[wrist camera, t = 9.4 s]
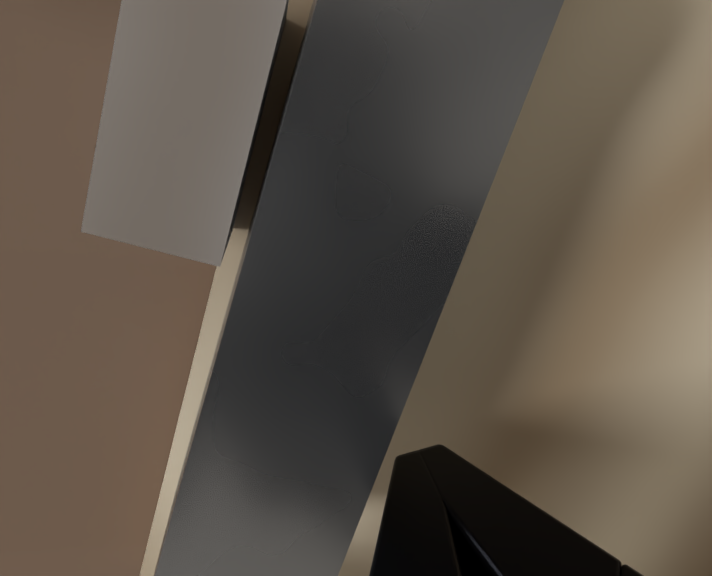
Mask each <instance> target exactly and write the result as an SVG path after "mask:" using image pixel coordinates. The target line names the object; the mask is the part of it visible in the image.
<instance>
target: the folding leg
mask: <svg viewBox="0 0 712 576" xmlns="http://www.w3.org/2000/svg"><path fill="white" fill-rule="evenodd" d="M563 2H564V0H313V3H312V7H311V10H310V14H309V17H308V21H307V24H306V28H305V31H304V35H303V39H302V42H301V46H300V49H299V53H298V56H297V60H296V64H295V67H294V71H293V74H292V78H291V81H290V85H289V88H288V92H287V96H286V99H285V103H284V106H283V110H282V113H281V117H280V120H279V124H278V128H277V131H276V135H275V138H274V142H273V145H272V149H271V153H270V156H269V160H268V163H267V167H266V170H265V174H264V177H263V181H262V185H261V188H260V192H259V195H258V199H257V202H256V206H255V210H254V213H253V217H252V220H251V224H250V227H249V231H248V234H247V238H246V242H245V245H244V249H243V252H242V256H241V259H240V263H239V266H238V270H237V274H236V277H235V281H234V284H233V288H232V291H231V295H230V299H229V302H228V306H227V309H226V313H225V316H224V320H223V323H222V327H221V331H220V334H219V338H218V341H217V345H216V348H215V352H214V356H213V359H212V363H211V366H210V370H209V373H208V377H207V380H206V384H205V388H204V391H203V395H202V398H201V402H200V405H199V409H198V413H197V416H196V420H195V423H194V427H193V430H192V434H191V437H190V441H189V445H188V448H187V452H186V455H185V459H184V462H183V466H182V469H181V473H180V477H179V480H178V484H177V487H176V491H175V495H174V499H173V503H172V506H171V510H170V514H169V518H168V522H167V526H166V530H165V534H164V537H163V541H162V545H161V549H160V553H159V557H158V561H157V564H156V568H155V572H154V576H338V574H339V572H340V569H341V566H342V564H343V561H344V559H345V556H346V554H347V551H348V549H349V546H350V544H351V541H352V539H353V536H354V533H355V531H356V528H357V526H358V523H359V521H360V518H361V516H362V513H363V511H364V508H365V505H366V503H367V500H368V498H369V495H370V493H371V490H372V488H373V485H374V483H375V480H376V478H377V475H378V472H379V470H380V467H381V465H382V462H383V460H384V457H385V455H386V452H387V450H388V447H389V444H390V442H391V439H392V437H393V434H394V432H395V429H396V427H397V424H398V422H399V419H400V417H401V414H402V411H403V409H404V406H405V404H406V401H407V399H408V396H409V394H410V391H411V389H412V386H413V383H414V381H415V378H416V376H417V373H418V371H419V368H420V366H421V363H422V361H423V358H424V356H425V353H426V350H427V348H428V345H429V343H430V340H431V338H432V335H433V333H434V330H435V328H436V325H437V322H438V320H439V317H440V315H441V312H442V310H443V307H444V305H445V302H446V300H447V297H448V295H449V292H450V289H451V287H452V284H453V282H454V279H455V277H456V274H457V272H458V269H459V267H460V264H461V261H462V259H463V256H464V254H465V251H466V249H467V246H468V244H469V241H470V239H471V236H472V234H473V231H474V228H475V226H476V223H477V221H478V218H479V216H480V213H481V211H482V208H483V206H484V203H485V200H486V198H487V195H488V193H489V190H490V188H491V185H492V183H493V180H494V178H495V175H496V173H497V170H498V167H499V165H500V162H501V160H502V157H503V155H504V152H505V150H506V147H507V145H508V142H509V139H510V137H511V134H512V132H513V129H514V127H515V124H516V122H517V119H518V117H519V114H520V112H521V109H522V106H523V104H524V101H525V99H526V96H527V94H528V91H529V89H530V86H531V84H532V81H533V78H534V76H535V73H536V71H537V68H538V66H539V63H540V61H541V58H542V56H543V53H544V51H545V48H546V45H547V43H548V40H549V38H550V35H551V33H552V30H553V28H554V25H555V23H556V20H557V17H558V15H559V12H560V10H561V7H562V5H563Z"/></svg>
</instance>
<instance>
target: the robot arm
mask: <svg viewBox="0 0 712 576" xmlns="http://www.w3.org/2000/svg"><path fill="white" fill-rule="evenodd" d="M369 576H644V575H642V574H641V573H639V572H638V571H636V570H634V569H633V568H631V567H630V566H628V565H626V564H624V565H622V563H621V561H620V560H619V559H617V558H616V557H614V556H613V555H611V554H609V553H608V552H606V551H605V550H603V549H602V548H600V547H599V546H597V545H596V544H594V543H593V542H591V541H590V540H588V539H586V538H585V537H583V536H582V535H580V534H579V533H577V532H576V531H574V530H573V529H571V528H570V527H568V526H567V525H565V524H563V523H562V522H560V521H559V520H557V519H556V518H554V517H553V516H551V515H550V514H548V513H547V512H545V511H544V510H542V509H540V508H539V507H537V506H536V505H534V504H533V503H531V502H530V501H528V500H527V499H525V498H524V497H522V496H521V495H519V494H517V493H516V492H514V491H513V490H511V489H510V488H508V487H507V486H505V485H504V484H502V483H501V482H499V481H498V480H496V479H494V478H493V477H491V476H490V475H488V474H487V473H485V472H484V471H482V470H481V469H479V468H478V467H476V466H475V465H473V464H471V463H470V462H468V461H467V460H465V459H464V458H462V457H461V456H459V455H458V454H456V453H455V452H453V451H452V450H450V449H448V448H447V447H445V446H444V445H441V444H437V445H433V446H430V447H426V448H423V449H419V450H416V451H412V452H408V453H405V454H401V455H398V456H397V457H396V458H395V460H394V465H393V469H392V474H391V478H390V483H389V487H388V492H387V497H386V501H385V506H384V510H383V515H382V519H381V524H380V528H379V533H378V538H377V542H376V547H375V551H374V556H373V560H372V565H371V569H370V574H369Z"/></svg>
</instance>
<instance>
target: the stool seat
mask: <svg viewBox="0 0 712 576" xmlns="http://www.w3.org/2000/svg"><path fill="white" fill-rule="evenodd" d="M312 3H313V0H122V1H121V7H120V13H119V18H118V24H117V30H116V35H115V41H114V47H113V52H112V58H111V64H110V69H109V75H108V81H107V86H106V92H105V98H104V103H103V109H102V115H101V120H100V126H99V132H98V137H97V143H96V149H95V154H94V160H93V166H92V171H91V177H90V183H89V188H88V194H87V200H86V205H85V211H84V217H83V222H82V228H81V232H84V233H88V234H92V235H96V236H100V237H104V238H108V239H112V240H116V241H120V242H124V243H128V244H131V245H135V246H139V247H143V248H147V249H151V250H155V251H159V252H163V253H167V254H171V255H175V256H179V257H183V258H187V259H191V260H195V261H199V262H203V263H207V264H211V265H215V266H217V267H216V271H215V275H214V279H213V283H212V287H211V291H210V295H209V299H208V303H207V307H206V311H205V315H204V319H203V323H202V327H201V331H200V335H199V339H198V343H197V347H196V351H195V355H194V359H193V363H192V367H191V371H190V375H189V379H188V383H187V387H186V391H185V395H184V399H183V403H182V407H181V411H180V415H179V419H178V423H177V427H176V431H175V435H174V439H173V444H172V448H171V452H170V456H169V460H168V464H167V468H166V472H165V476H164V480H163V484H162V488H161V492H160V496H159V500H158V504H157V508H156V512H155V516H154V520H153V524H152V528H151V532H150V536H149V540H148V544H147V548H146V552H145V556H144V560H143V564H142V568H141V572H140V576H154V572H155V568H156V564H157V561H158V557H159V553H160V549H161V545H162V541H163V537H164V534H165V530H166V526H167V522H168V518H169V514H170V510H171V506H172V503H173V499H174V495H175V491H176V487H177V484H178V480H179V477H180V473H181V469H182V466H183V462H184V459H185V455H186V452H187V448H188V445H189V441H190V437H191V434H192V430H193V427H194V423H195V420H196V416H197V413H198V409H199V405H200V402H201V398H202V395H203V391H204V388H205V384H206V380H207V377H208V373H209V370H210V366H211V363H212V359H213V356H214V352H215V348H216V345H217V341H218V338H219V334H220V331H221V327H222V323H223V320H224V316H225V313H226V309H227V306H228V302H229V299H230V295H231V291H232V288H233V284H234V281H235V277H236V274H237V270H238V266H239V263H240V259H241V256H242V252H243V249H244V245H245V242H246V238H247V234H248V231H249V227H250V224H251V220H252V217H253V213H254V210H255V206H256V202H257V199H258V195H259V192H260V188H261V185H262V181H263V177H264V174H265V170H266V167H267V163H268V160H269V156H270V153H271V149H272V145H273V142H274V138H275V135H276V131H277V128H278V124H279V120H280V117H281V113H282V110H283V106H284V103H285V99H286V96H287V92H288V88H289V85H290V81H291V78H292V74H293V71H294V67H295V64H296V60H297V56H298V53H299V49H300V46H301V42H302V39H303V35H304V31H305V28H306V24H307V21H308V17H309V14H310V10H311V7H312ZM437 444H441V445H444V446H445V447H447V448H448V449H450V450H452V451H453V452H455V453H456V454H458V455H459V456H461V457H462V458H464V459H465V460H467V461H468V462H470V463H471V464H473V465H475V466H476V467H478V468H479V469H481V470H482V471H484V472H485V473H487V474H488V475H490V476H491V477H493V478H494V479H496V480H498V481H499V482H501V483H502V484H504V485H505V486H507V487H508V488H510V489H511V490H513V491H514V492H516V493H517V494H519V495H521V496H522V497H524V498H525V499H527V500H528V501H530V502H531V503H533V504H534V505H536V506H537V507H539V508H540V509H542V510H544V511H545V512H547V513H548V514H550V515H551V516H553V517H554V518H556V519H557V520H559V521H560V522H562V523H563V524H565V525H567V526H568V527H570V528H571V529H573V530H574V531H576V532H577V533H579V534H580V535H582V536H583V537H585V538H586V539H588V540H590V541H591V542H593V543H594V544H596V545H597V546H599V547H600V548H602V549H603V550H605V551H606V552H608V553H609V554H611V555H613V556H614V557H616V558H617V559H619V560H620V561H621V563H622V565H624V564H626V565H628V566H630V567H631V568H633V569H634V570H636V571H638V572H639V573H641V574H642V575H644V576H712V0H564V2H563V5H562V7H561V10H560V12H559V15H558V17H557V20H556V23H555V25H554V28H553V30H552V33H551V35H550V38H549V40H548V43H547V45H546V48H545V51H544V53H543V56H542V58H541V61H540V63H539V66H538V68H537V71H536V73H535V76H534V78H533V81H532V84H531V86H530V89H529V91H528V94H527V96H526V99H525V101H524V104H523V106H522V109H521V112H520V114H519V117H518V119H517V122H516V124H515V127H514V129H513V132H512V134H511V137H510V139H509V142H508V145H507V147H506V150H505V152H504V155H503V157H502V160H501V162H500V165H499V167H498V170H497V173H496V175H495V178H494V180H493V183H492V185H491V188H490V190H489V193H488V195H487V198H486V200H485V203H484V206H483V208H482V211H481V213H480V216H479V218H478V221H477V223H476V226H475V228H474V231H473V234H472V236H471V239H470V241H469V244H468V246H467V249H466V251H465V254H464V256H463V259H462V261H461V264H460V267H459V269H458V272H457V274H456V277H455V279H454V282H453V284H452V287H451V289H450V292H449V295H448V297H447V300H446V302H445V305H444V307H443V310H442V312H441V315H440V317H439V320H438V322H437V325H436V328H435V330H434V333H433V335H432V338H431V340H430V343H429V345H428V348H427V350H426V353H425V356H424V358H423V361H422V363H421V366H420V368H419V371H418V373H417V376H416V378H415V381H414V383H413V386H412V389H411V391H410V394H409V396H408V399H407V401H406V404H405V406H404V409H403V411H402V414H401V417H400V419H399V422H398V424H397V427H396V429H395V432H394V434H393V437H392V439H391V442H390V444H389V447H388V450H387V452H386V455H385V457H384V460H383V462H382V465H381V467H380V470H379V472H378V475H377V478H376V480H375V483H374V485H373V488H372V490H371V493H370V495H369V498H368V500H367V503H366V505H365V508H364V511H363V513H362V516H361V518H360V521H359V523H358V526H357V528H356V531H355V533H354V536H353V539H352V541H351V544H350V546H349V549H348V551H347V554H346V556H345V559H344V561H343V564H342V566H341V569H340V572H339V574H338V576H369V574H370V569H371V565H372V560H373V556H374V551H375V547H376V542H377V538H378V533H379V528H380V524H381V519H382V515H383V510H384V506H385V501H386V497H387V492H388V487H389V483H390V478H391V474H392V469H393V465H394V460H395V458H396V457H397V456H398V455H401V454H405V453H408V452H412V451H416V450H419V449H423V448H426V447H430V446H433V445H437Z"/></svg>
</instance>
